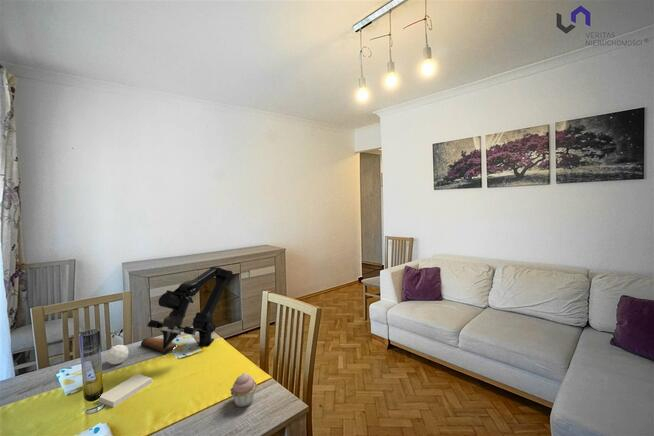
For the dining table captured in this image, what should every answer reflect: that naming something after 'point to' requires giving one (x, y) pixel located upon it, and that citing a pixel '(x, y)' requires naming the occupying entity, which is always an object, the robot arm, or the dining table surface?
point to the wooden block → (125, 390)
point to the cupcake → (243, 390)
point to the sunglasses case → (157, 344)
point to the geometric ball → (117, 354)
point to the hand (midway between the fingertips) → (164, 349)
